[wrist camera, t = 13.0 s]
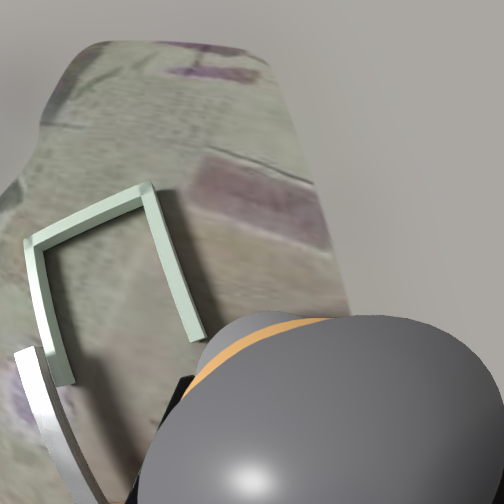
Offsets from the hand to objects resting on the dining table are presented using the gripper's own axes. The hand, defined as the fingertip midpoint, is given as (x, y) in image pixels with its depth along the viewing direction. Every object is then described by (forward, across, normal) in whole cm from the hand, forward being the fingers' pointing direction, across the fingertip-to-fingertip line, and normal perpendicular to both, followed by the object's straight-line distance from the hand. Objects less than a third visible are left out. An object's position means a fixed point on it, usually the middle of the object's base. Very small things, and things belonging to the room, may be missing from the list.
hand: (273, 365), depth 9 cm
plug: (+4, 0, +6) cm, 7 cm away
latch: (+2, +12, +7) cm, 14 cm away
